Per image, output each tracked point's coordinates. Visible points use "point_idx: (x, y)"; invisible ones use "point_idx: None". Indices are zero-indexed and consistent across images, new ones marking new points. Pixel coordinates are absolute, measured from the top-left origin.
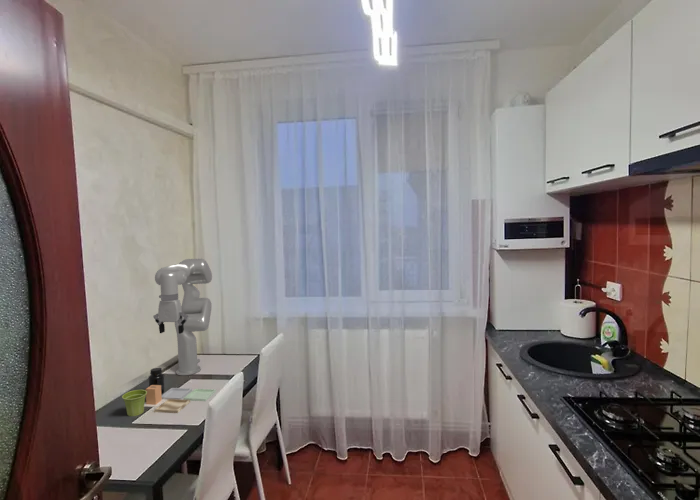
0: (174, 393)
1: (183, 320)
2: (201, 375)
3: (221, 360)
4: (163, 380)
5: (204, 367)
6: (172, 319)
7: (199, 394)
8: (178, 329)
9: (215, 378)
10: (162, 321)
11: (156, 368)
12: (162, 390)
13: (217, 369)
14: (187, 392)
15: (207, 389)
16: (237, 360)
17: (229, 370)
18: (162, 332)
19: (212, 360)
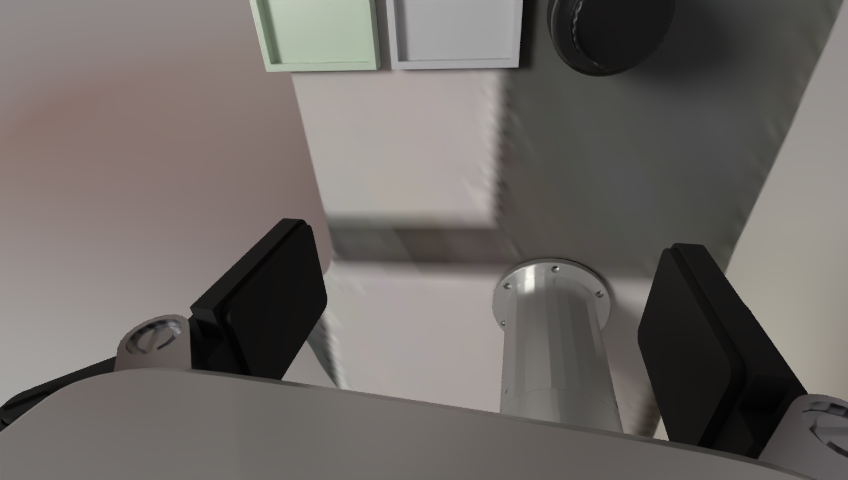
0: (473, 13)
1: (8, 416)
2: (460, 259)
3: (457, 394)
4: (549, 23)
5: (493, 338)
6: (159, 454)
7: (327, 19)
8: (273, 261)
9: (377, 227)
10: (678, 445)
11: (626, 44)
12: (549, 1)
13: (424, 316)
14: (387, 10)
15: (305, 65)
16: (393, 388)
17: (367, 304)
18: (655, 282)
19: (496, 398)
